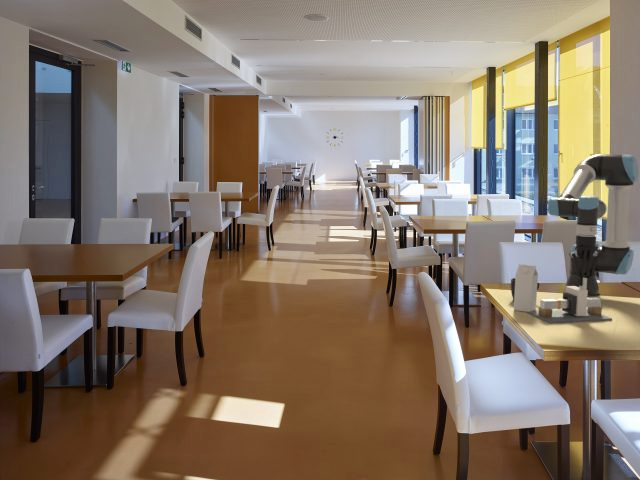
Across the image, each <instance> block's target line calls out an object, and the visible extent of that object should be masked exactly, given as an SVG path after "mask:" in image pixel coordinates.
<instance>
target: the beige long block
mask: <svg viewBox="0 0 640 480" xmlns="http://www.w3.org/2000/svg"><path fill="white" fill-rule="evenodd" d="M539 301H540V302H539V303H540V304H539V307H538V311H539V312H538V315H540V316H542V317H544V318H551V317H552V311H553V310H562V309H563V308H571V298H567V299H563V298H548V299H547V298H545V299H540V300H539ZM601 303H602V298H599V297H587V313H590V314H592V315H601V314H602V312H603V311H602V309H603V307H602V306H601Z"/></svg>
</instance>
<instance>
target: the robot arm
mask: <svg viewBox="0 0 640 480" xmlns="http://www.w3.org/2000/svg"><path fill="white" fill-rule="evenodd" d="M639 170H640V169H639V164H638V159H637V158H636V157H635V155H632V154H626V153H624V154H622V153H621V154H620V153H619V154H616V153H614V154H604V153H598V154H594V155H591V156H589V157H587V158H584V159H583V160H581V161H580V162H579V163H578V165H576V167H575V168H574V170H573V175H572V176H571V178H570V180H569V181H568V183H567V184H566V186H565V187H564V189H563V190H562V191H561V193H560V195H559V197H551V198H549V200H548V203H547V212H548V215H550V216H554V217H566V218H567V217H568V218H576V219H577V220H576V231H575V232H576V236H575V244H573V245H572V246H571V250H570V252H569V253H568V254H569V258H570V259H569V261H570V262H569V276H568V278H567V279H566V282H565V284H564V291H565V290H566V286H576V287H579V288H582V289H585V290H588V295H587V296H598V294H600V288H599V284H598V280H597V273H603V274H613V275H624V276H625V275H627V274H628V273H629V272H630V270H631V267H632V264H633V261H634V250H632V248H631V246H630V244H629V243H628V241H627V238H628V221H629V220H628V219H629V203H630V189H631V188H633V186H634V183H635V182H637V181H638V179H639V175H640V174H639ZM594 181H604V182H605V183H604V185H605V187H607V189H608V191H607V192H608V193H607V194H608V195H607V203H605V202H604V201H603V200H600V198H599V197H598V196H593V195H591V196H589V195H583V194H584V193H585V191H586V190H587V187H588V186H589V184H591V183H593V182H594ZM604 215H606V229H605V232H606V233H605V241H603V242H602V244H601V246H599V244H598V243H597V233H598V231H597V230H598V219H600V218H602V217H603V216H604Z"/></svg>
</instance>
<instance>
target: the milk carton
mask: <svg viewBox="0 0 640 480" xmlns="http://www.w3.org/2000/svg"><path fill="white" fill-rule="evenodd" d="M514 278H515V294H514V301H513V311H519V312H526V313H529V312H530V311H536V309H537V297H538V296H537V295H538V290H537V283H538V278H539V274H538V271H537V266H536V265H531V264H522V263H518V267H517V270H516V272H515V277H514Z"/></svg>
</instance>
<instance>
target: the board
mask: <svg viewBox="0 0 640 480" xmlns="http://www.w3.org/2000/svg"><path fill="white" fill-rule="evenodd" d="M587 309H588V308H587ZM587 309H586V316H575V315H573V314H570V313H568V312H565V311H563V310H562V309H552V317H551V318H544V317H542V316H540V315H538V312H539V310H534V311H530V312H528V314H529V315H531V316H533V317H536V318H537V319H540V320H543V321H545V322H546V323H548V324H564V323H566V324H567V323H568V324H569V323H582V322H583V323H584V322H589V321H590V322H606V321H605V320H610V321H613V318H612V317H610V316H607V315H604V314H602V313H601V315H592V314H590V313H587Z"/></svg>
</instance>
